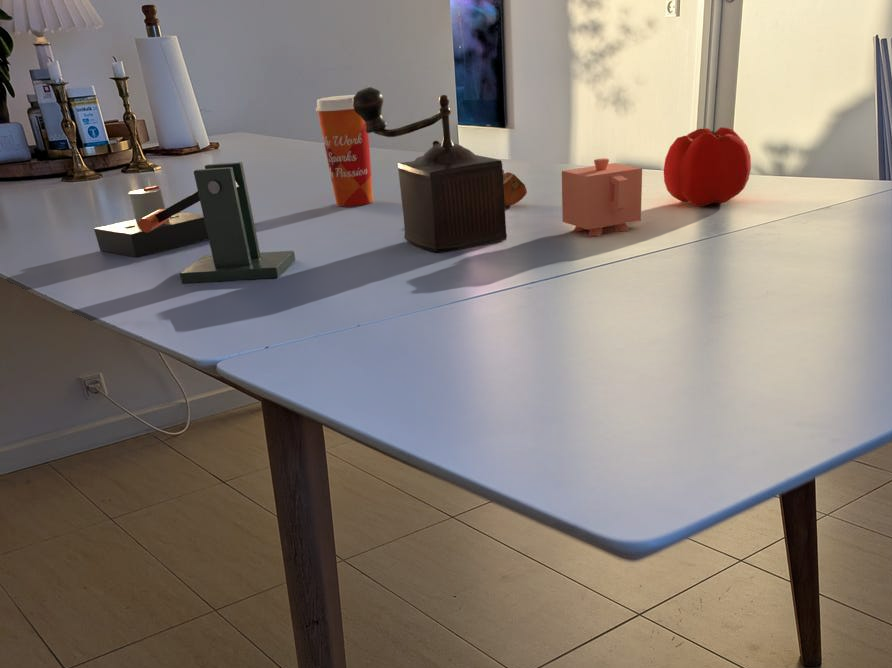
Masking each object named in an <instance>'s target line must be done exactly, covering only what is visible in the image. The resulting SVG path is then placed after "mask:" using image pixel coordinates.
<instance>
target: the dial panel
mask: <svg viewBox="0 0 892 668" xmlns="http://www.w3.org/2000/svg"><path fill="white" fill-rule="evenodd" d="M93 231H94V234H95V238H96V241H97V245H98V248H99V251H100V252H105V253H110V254H111V253H112V254H117V255H122V256H128V257H134V258H140V257H143V256H148V255H152V254H155V253H160V252H164V251H167V250H172V249H177V248H180V247H184V246H188V245H192V244H196V243H200V242H204V241H209V238H208V234H207V230H206V225H205V221H204V216H203V214H199V213H190V212H183V211H181V212H179V213H177V214H175V215H173V216H171V217H170V218H169V220H168V221H167V222H166V223H164V224H162V225H160V226H159V227H157V228H155V229H153V230H152V231H150V232H144V231H142V230H141V229H140V227H139V224H137V223H136V220H135V219H131V220H126V221H121V222H116V223H112V224H108V225H105V226H104V225H103V226H98V227H95V228H93Z"/></svg>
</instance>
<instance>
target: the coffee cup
mask: <svg viewBox="0 0 892 668" xmlns="http://www.w3.org/2000/svg"><path fill="white" fill-rule="evenodd" d="M355 95H356V94H347V95H345V94H344V95H336V96H329V97H328V96H327V97H321V98H318V99H317V100H316V107H315V112H317V113H318V120H319V125H320V129H321V134H322V140H323V145H324V149H325V154H326V159H327V164H328V165H327V166H328V170H329V175H330V179H331V185H332V190H333V195H334V198H335V202H336V206H338V207H347V208H348V207H359V206H366V205H369V204H371V203H373V201H374V196H373V195H374V193H373V180H372V179H373V178H372V165H371V151H370V137H369V133H367V132H366V123H365V121H364V120H363V119H362V118H361V116H359V115H358V114H357V113H356V112H355V110H354V107H353V97H354V96H355Z"/></svg>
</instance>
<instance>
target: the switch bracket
mask: <svg viewBox="0 0 892 668" xmlns="http://www.w3.org/2000/svg"><path fill="white" fill-rule="evenodd" d="M226 167H227V168H226ZM193 176H194V181H195V184H196V190H197V191H198V194H199V198H200V201H199V202H200V207H201V212H202V215H203V216H204V221H205V225H206V230H207V234H208V238H209V239H208V243H209V248H210V251H211V255H203V256H202V257H200V258H199V259H197V260H196V261H194V262H193V263H192V264H190V265H189V266H187V267H186V268H184V269H183V270H182V271H181V272H179V277H180V281H181V284H193V283H212V282H227V281H228V282H229V281H245V280H247V281H248V280H263V279H265V280H266V279H277V278H279V277H280V276H281V275H282V274H284V272H285V271H286V270H287V269H288V268H289V267H291V265H292V264H293V263H294V262H295V261H296V255H295V254H296V253H295V250H280V251H279V250H278V251H264V252H261V251H260V246H259V241H258V236H257V230H256V226H255V220H254V216H253V215H254V214H253V210H252V204H251V200H250V194H249V190H248V186H247V180H246V175H245V169H244V164H243V162H242V161H239V162H237V161H236V162H226V163H225V162H224V163H222V162H221V163H211V164H210V163H209V164H206V165H204V168H201V169H195V170H193ZM235 179H236V181H237V183H238V185H239V187H238V188H237V187H236V182H235Z"/></svg>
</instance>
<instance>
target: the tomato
mask: <svg viewBox="0 0 892 668" xmlns="http://www.w3.org/2000/svg"><path fill="white" fill-rule="evenodd" d="M751 159H752V158H751V153H750V151H749V147H748V144H746V143H745V141H744V139H743V138H742V137H741V136H740V135H739V134H737V132H736V131H735V129H732V128H729V127H725V126H724V127H719V128H718V129H717V130H716V129H714V130H711V129H710V128H708V127H707V128H705V127H703V128H698V129H695V130H693V131H691V132H689V133H687V135H682V136H679V137H677V138H676V139H675V140H674V141H673V142H672V144H671V145H670V146H669V148H668V151H667V154H666V156H665V158H664V163H663V164H664V165H663V181H664V185H665V188H666V191H667V192H668V193H669V194H670V196H671V197H673V198H675V199H677V200H678V201H680V202H682V203H690V204H692V205H694V206H697V207H705V206H708V205H711V204H713V203H714V204H721V203H722V204H723V203H726V202H728V201H729V200H732V199H733V198H735V197H736V196H738V195H739V194H741V192H742V191H743V190H744V189H745V187H746V185H747V184H748V181H749V179H750V173H751V169H752V163H751Z"/></svg>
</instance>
